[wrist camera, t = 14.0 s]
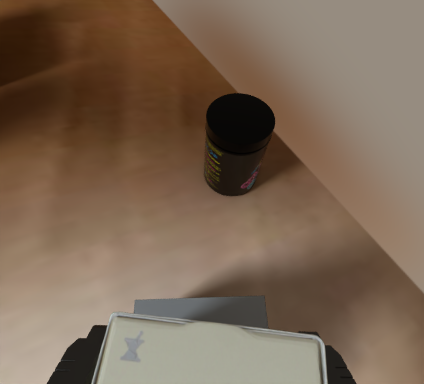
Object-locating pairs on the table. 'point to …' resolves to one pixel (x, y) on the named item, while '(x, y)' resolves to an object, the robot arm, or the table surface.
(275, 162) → the table surface
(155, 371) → the skincare box
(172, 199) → the table surface
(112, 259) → the table surface
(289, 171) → the table surface
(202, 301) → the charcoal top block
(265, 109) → the supplement container
